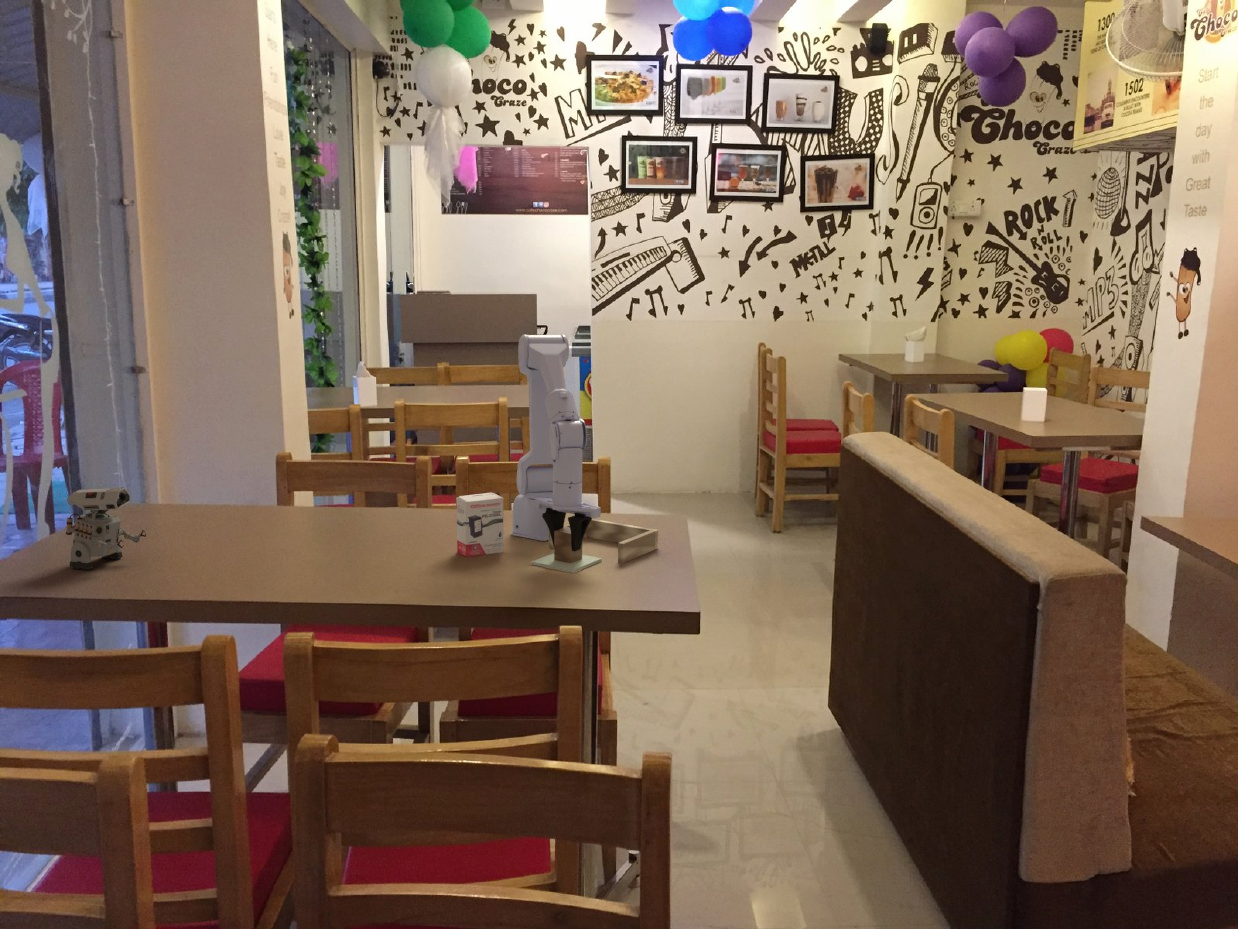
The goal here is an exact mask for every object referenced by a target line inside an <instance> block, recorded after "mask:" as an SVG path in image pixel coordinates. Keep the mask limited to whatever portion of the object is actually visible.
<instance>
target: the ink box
mask: <svg viewBox="0 0 1238 929" xmlns="http://www.w3.org/2000/svg"><path fill="white" fill-rule="evenodd" d="M455 500H456V544H457V545H456V551H457V553H458V554H460V555H462V556H464V557H465V558H471V557H477V556H486V555H491V554H498V553H503V552H504V497H503V496H500V495H498V494H496V493H494V492H485V493H478V494H477V493H475V494H469V495H459V496H458V497H456V499H455Z"/></svg>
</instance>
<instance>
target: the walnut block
mask: <svg viewBox="0 0 1238 929" xmlns="http://www.w3.org/2000/svg"><path fill="white" fill-rule="evenodd" d="M553 551H554V552H553V553H554V560H556V561H561V562H566V563H573V562H576V561H578V560H581V559H582V555H583V543H582V544H581V549H580V550H577V551H572V545H571V530H570V527H564V528H561V529H558V530H555V531H554V550H553Z"/></svg>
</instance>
